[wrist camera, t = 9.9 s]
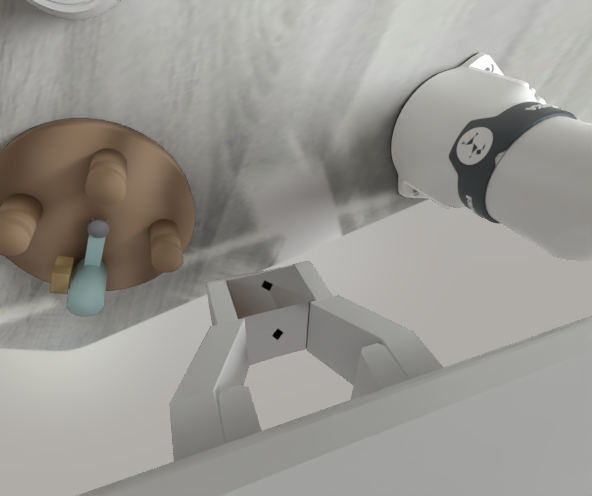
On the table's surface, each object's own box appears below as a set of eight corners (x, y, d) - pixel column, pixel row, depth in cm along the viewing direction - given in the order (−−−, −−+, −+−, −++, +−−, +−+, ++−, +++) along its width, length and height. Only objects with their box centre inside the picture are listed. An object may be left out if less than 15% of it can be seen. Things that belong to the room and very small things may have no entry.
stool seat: (211, 150, 37) (227, 182, 31) (171, 283, 44) (177, 330, 38) (-10, 86, 28) (-51, 113, 22) (-13, 267, 35) (-43, 324, 29)
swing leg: (83, 209, 33) (76, 240, 29) (118, 215, 34) (116, 245, 30) (72, 279, 36) (64, 315, 32) (105, 282, 38) (101, 317, 34)
